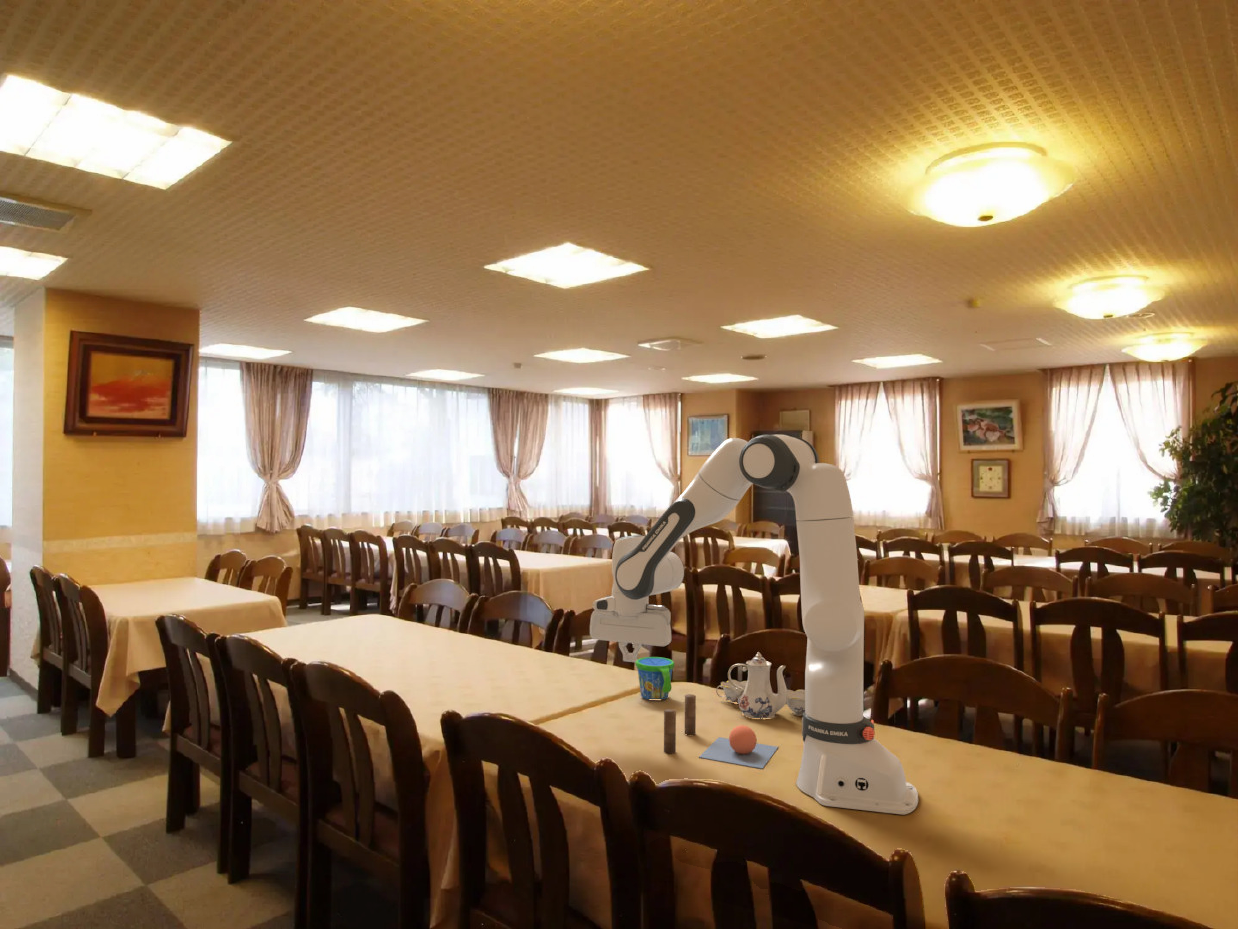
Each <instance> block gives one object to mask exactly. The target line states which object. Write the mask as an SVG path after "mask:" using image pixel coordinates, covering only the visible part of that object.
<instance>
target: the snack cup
mask: <svg viewBox="0 0 1238 929" xmlns="http://www.w3.org/2000/svg"><path fill="white" fill-rule="evenodd" d="M635 666H636V669H637V674H638V682H639V689H640V690H639V692H640V696H641V698H643V699H645V700H647V699H664V700H666V699H667V697H668V698H669V693H670V692H671V691H672V687H673V686H672V682H671V680H672V674H673V673H672V672H673V669H674V668H675V662H674V660H672V659H671V658H666V657H662V656H661V657H660V656H646V657H645V656H644V657H641V658H637V661H636V662H635ZM665 698H666V699H665Z"/></svg>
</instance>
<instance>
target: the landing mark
mask: <svg viewBox="0 0 1238 929" xmlns="http://www.w3.org/2000/svg"><path fill="white" fill-rule="evenodd" d="M777 748H778V749H779V746H776V745H769V744H763V743H759V742H758V743H757V742H756V746H755V748H754V750H753V751H752V752H750V753H748V754H739V753H737V752H735V751H734V750H733V749H732V747H731V745H730V742H729V737H728V738H726V737H719V736H718V737H717V738H716V739H715V740H714V741H713V742H712V743H711V744H710V745H709V746H708V747H707V748H706V749H705V750H704V751H703V752H702V753H701V754H700V755H699V756H698V758H699V759H703V760H704V759H705V760H710V761H714V762H721V763H726V764H731V765H738V766H743V767H748V768H754V769H760V770H763V769H764V768H765V767H766V765H767V764H768V762H769V761H770V760H771V758H772V757H773V755H774V754H775V753H776V751H777V750H778V749H777Z"/></svg>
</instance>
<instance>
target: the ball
mask: <svg viewBox="0 0 1238 929" xmlns="http://www.w3.org/2000/svg"><path fill="white" fill-rule="evenodd" d="M755 733H756V732H754V730H753V729H752V728H751V727H749V726H747V725H737V726H735V727H734V728H732V730H730V733H729V737H728V739H729V742H730V745H731V747H732V749H733V750H734V751H735V752H737V753H739V754H748V753H750V752H752V751H753V750H754V748H755V746H756V743H757V740H758V739H757V735H756V734H755Z"/></svg>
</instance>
